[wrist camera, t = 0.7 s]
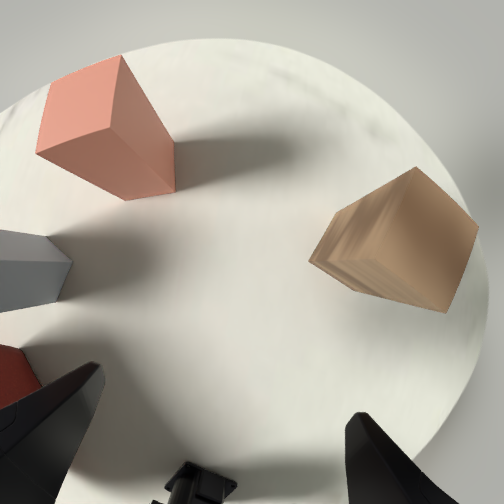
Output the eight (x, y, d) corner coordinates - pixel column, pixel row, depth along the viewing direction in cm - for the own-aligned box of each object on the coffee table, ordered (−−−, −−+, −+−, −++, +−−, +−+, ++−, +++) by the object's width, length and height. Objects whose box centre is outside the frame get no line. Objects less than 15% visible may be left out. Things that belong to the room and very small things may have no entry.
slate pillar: (56, 302, 23) (-38, 319, 10) (30, 275, 23) (-59, 278, 10) (73, 261, 23) (-27, 259, 10) (45, 236, 23) (-47, 222, 10)
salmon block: (175, 192, 24) (109, 127, 11) (125, 200, 24) (35, 153, 11) (173, 142, 24) (121, 54, 11) (125, 152, 24) (51, 82, 11)
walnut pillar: (353, 290, 23) (446, 313, 10) (308, 261, 24) (374, 258, 11) (379, 243, 24) (478, 226, 11) (335, 212, 24) (416, 166, 11)
